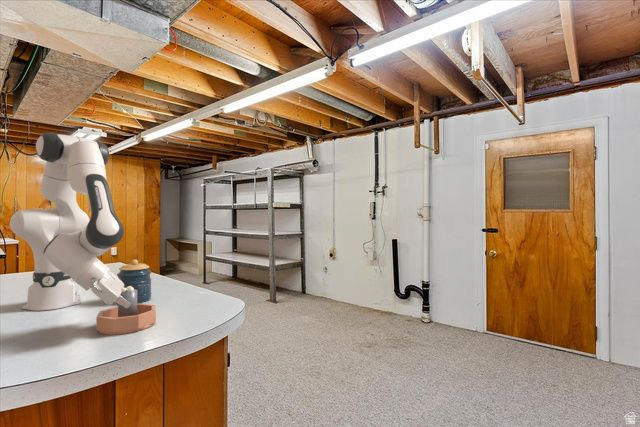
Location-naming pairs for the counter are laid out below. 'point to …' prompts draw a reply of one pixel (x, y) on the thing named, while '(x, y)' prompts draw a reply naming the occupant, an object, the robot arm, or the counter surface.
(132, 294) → the pebble cup
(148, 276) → the canister
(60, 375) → the counter surface
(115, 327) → the terracotta bowl
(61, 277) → the robot arm
